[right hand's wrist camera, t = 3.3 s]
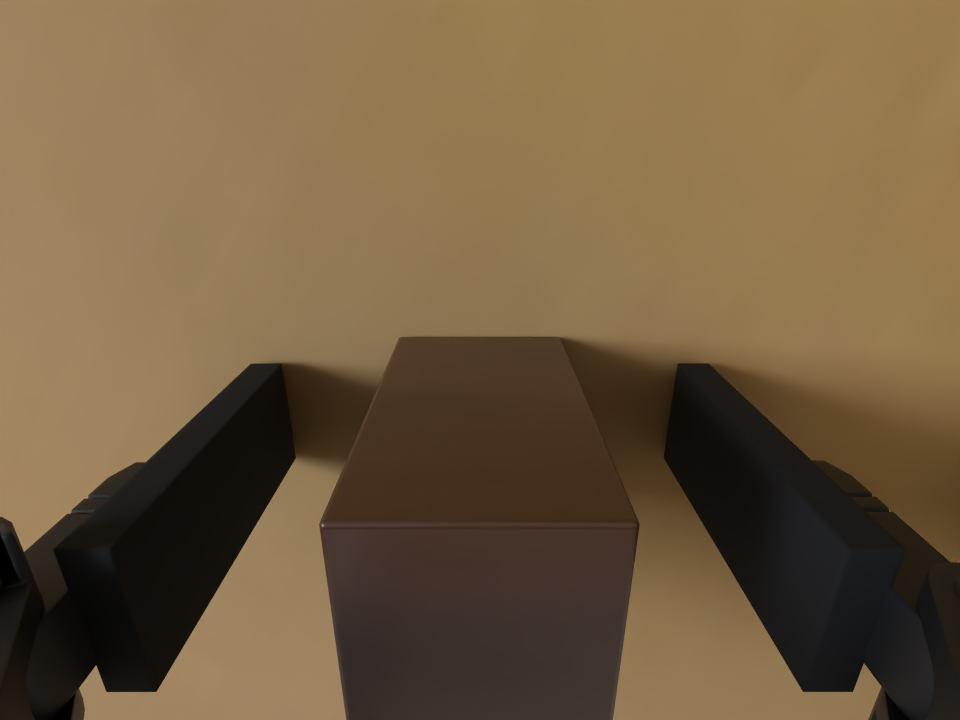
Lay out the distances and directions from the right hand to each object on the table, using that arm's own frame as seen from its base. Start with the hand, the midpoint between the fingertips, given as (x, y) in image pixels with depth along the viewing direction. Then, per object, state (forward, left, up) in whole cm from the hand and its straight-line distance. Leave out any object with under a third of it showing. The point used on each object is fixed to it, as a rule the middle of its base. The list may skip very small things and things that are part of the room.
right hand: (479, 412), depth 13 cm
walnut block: (0, 0, 0) cm, 0 cm away
